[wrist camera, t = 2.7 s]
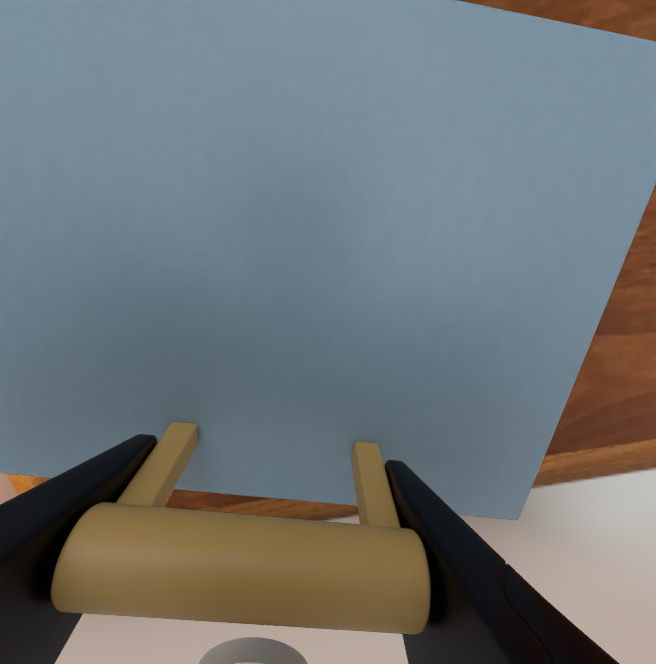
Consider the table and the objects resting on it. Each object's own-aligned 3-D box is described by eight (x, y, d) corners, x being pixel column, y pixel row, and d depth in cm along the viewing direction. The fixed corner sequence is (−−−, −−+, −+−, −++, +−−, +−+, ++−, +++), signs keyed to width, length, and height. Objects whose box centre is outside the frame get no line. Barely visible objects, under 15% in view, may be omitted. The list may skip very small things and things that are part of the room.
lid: (505, 501, 12) (644, 712, 7) (14, 454, 10) (-254, 667, 6) (674, 66, 8) (1288, -189, 3) (-75, -85, 7) (-1214, -960, 2)
